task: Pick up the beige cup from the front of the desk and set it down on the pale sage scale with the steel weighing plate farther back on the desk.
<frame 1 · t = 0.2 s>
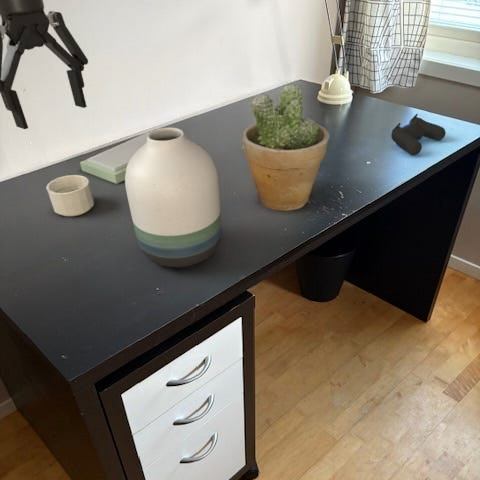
hand: (53, 116, 93), 23 cm above the table, tool pointing down, fingers open, 13 cm apart
beige cup: (74, 207, 113), on the table
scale: (135, 159, 132), on the table
potted plant: (284, 200, 112), on the table
figurine: (279, 161, 128), on the table
vase: (182, 252, 98), on the table
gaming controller: (414, 145, 133), on the table
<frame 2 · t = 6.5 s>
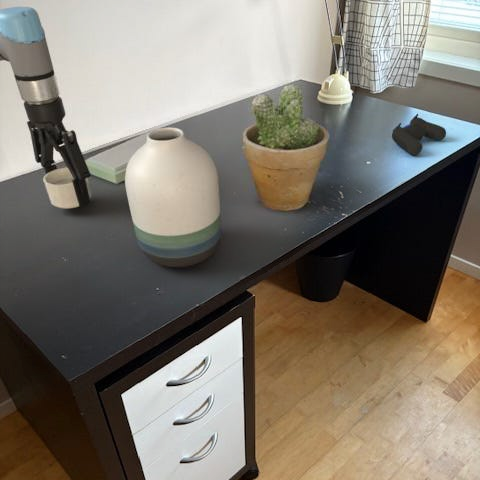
hand: (71, 198, 112), 2 cm above the table, tool pointing down, fingers closed on beige cup, 9 cm apart
beige cup: (71, 199, 112), point 2 cm above the table, touching gripper
everything else where it was.
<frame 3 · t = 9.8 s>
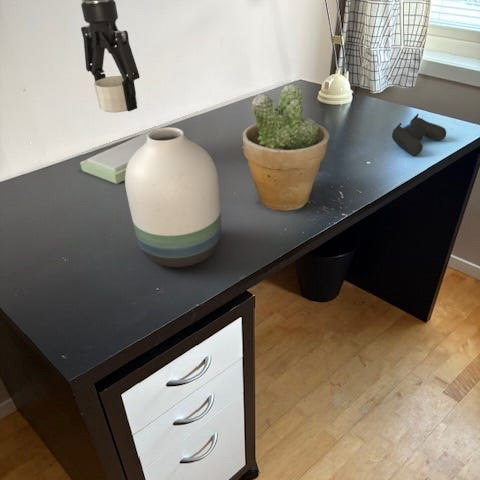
hand: (118, 105, 120), 15 cm above the table, tool pointing down, fingers closed on beige cup, 9 cm apart
beige cup: (119, 107, 120), point 15 cm above the table, touching gripper
everything else where it was.
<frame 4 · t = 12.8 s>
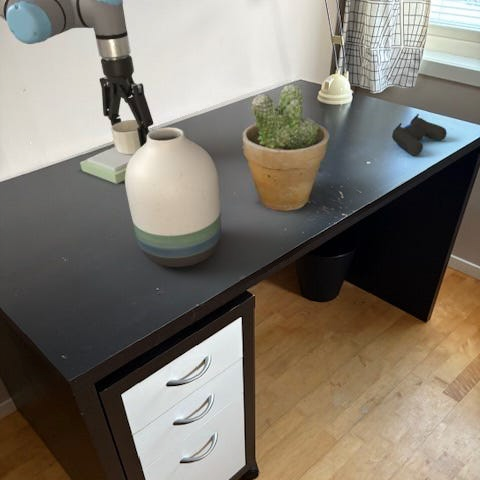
hand: (133, 147, 130), 3 cm above the table, tool pointing down, fingers closed on beige cup, 9 cm apart
beige cup: (133, 148, 130), point 3 cm above the table, touching gripper, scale
everything else where it was.
when the fingers open (3 cm above the table, at t = 13.0 s): beige cup stays where it is, resting on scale.
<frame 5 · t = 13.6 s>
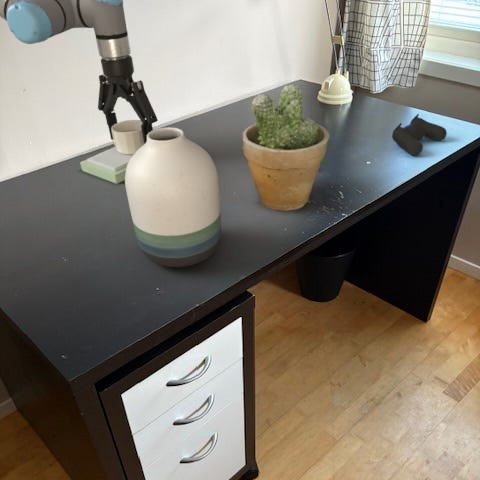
hand: (132, 143, 129), 5 cm above the table, tool pointing down, fingers open, 13 cm apart
beige cup: (133, 148, 130), point 3 cm above the table, touching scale
everything else where it was.
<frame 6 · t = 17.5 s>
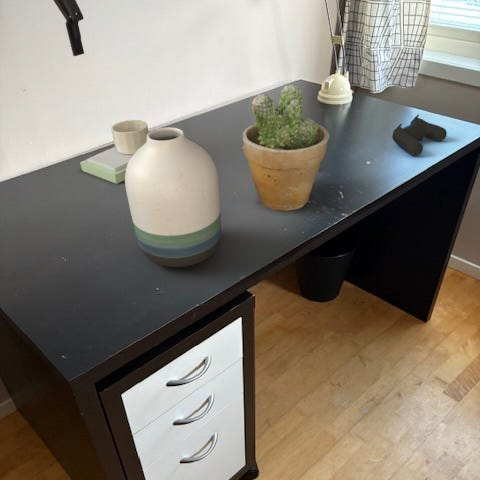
hand: (61, 51, 117), 27 cm above the table, tool pointing down, fingers open, 13 cm apart
nothing on the table moved.
at the end: beige cup inside the target area on the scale (0.0 cm from its centre), point 3.2 cm above the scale's base; beige cup tilted 0°; the gripper is holding nothing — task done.
